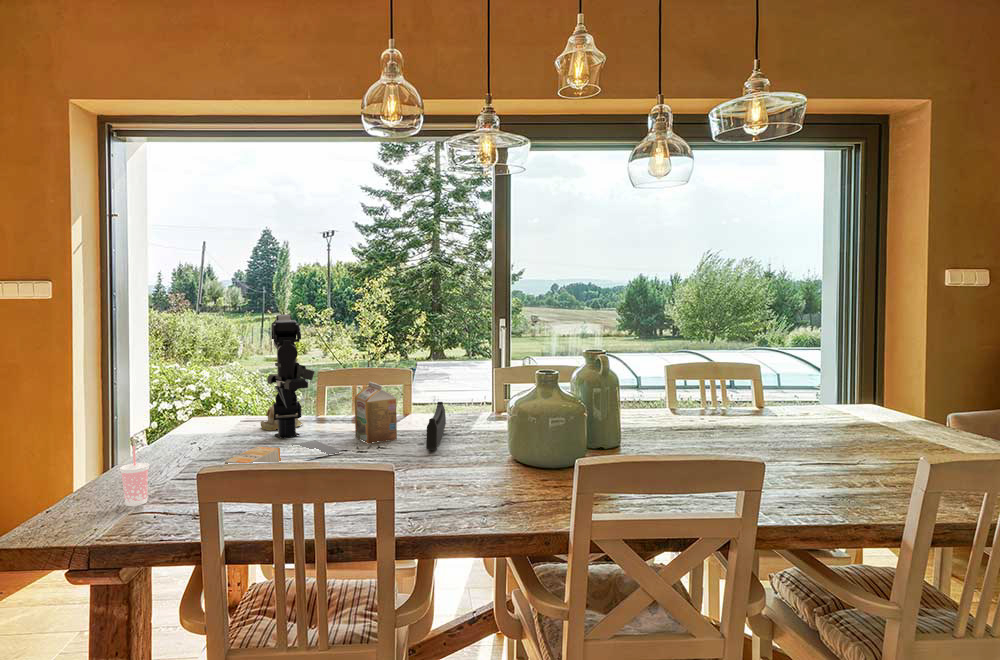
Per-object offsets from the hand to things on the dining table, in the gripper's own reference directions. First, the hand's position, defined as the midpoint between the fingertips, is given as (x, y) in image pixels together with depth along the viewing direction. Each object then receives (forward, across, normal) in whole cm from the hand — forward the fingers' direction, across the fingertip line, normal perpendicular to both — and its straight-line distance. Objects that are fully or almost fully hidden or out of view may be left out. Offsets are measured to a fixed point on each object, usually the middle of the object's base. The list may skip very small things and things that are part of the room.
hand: (288, 407), depth 195 cm
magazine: (+14, -24, -41) cm, 49 cm away
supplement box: (+10, -14, +12) cm, 21 cm away
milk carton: (+13, -7, -27) cm, 31 cm away
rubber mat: (+13, -8, +3) cm, 16 cm away
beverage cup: (+14, -24, +48) cm, 55 cm away
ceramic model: (+13, +31, -10) cm, 35 cm away
